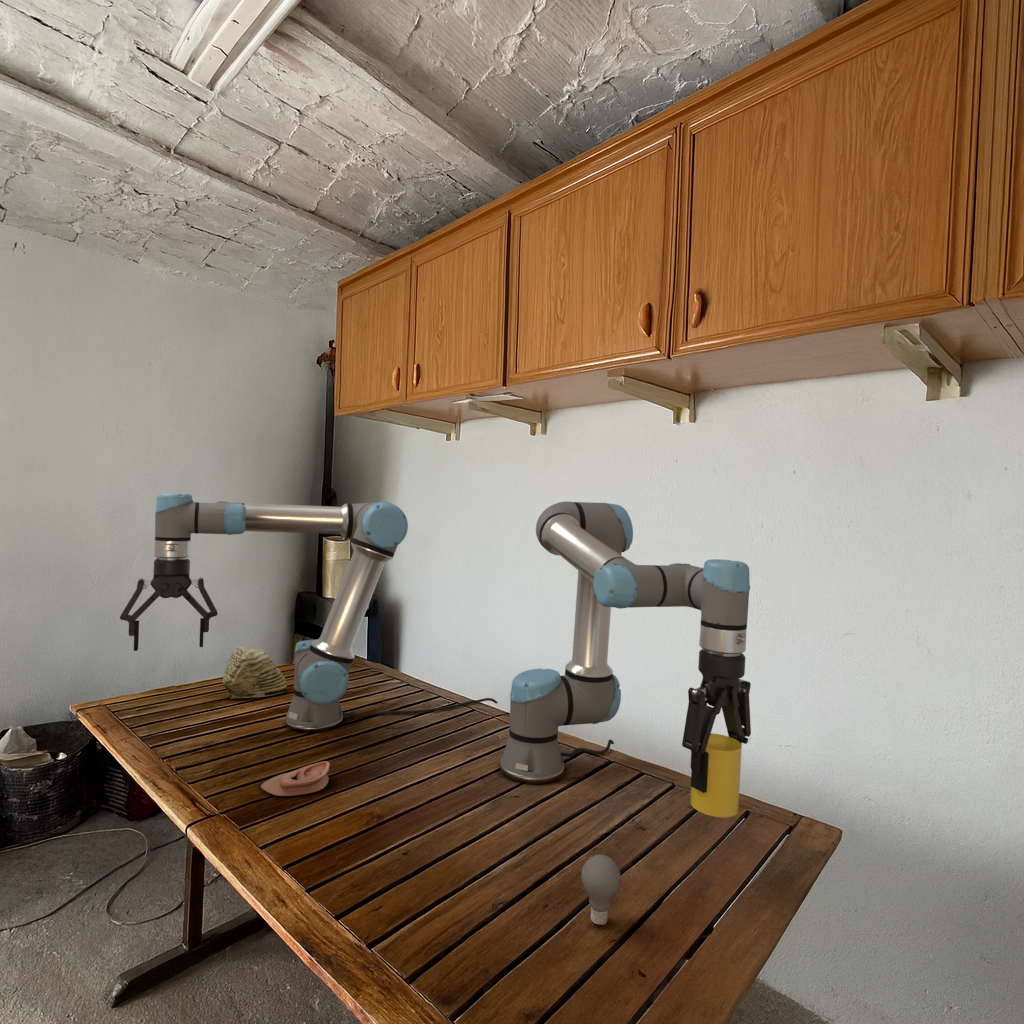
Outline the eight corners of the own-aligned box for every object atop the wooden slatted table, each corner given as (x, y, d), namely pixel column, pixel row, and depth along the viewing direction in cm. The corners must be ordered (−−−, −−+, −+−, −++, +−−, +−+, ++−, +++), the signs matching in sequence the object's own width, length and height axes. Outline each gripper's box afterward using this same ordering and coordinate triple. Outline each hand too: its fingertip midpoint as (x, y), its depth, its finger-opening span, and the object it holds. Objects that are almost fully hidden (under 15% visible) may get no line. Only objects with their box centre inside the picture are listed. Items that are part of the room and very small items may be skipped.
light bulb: (576, 909, 100) (578, 846, 100) (613, 909, 101) (616, 846, 100) (583, 935, 94) (586, 869, 94) (622, 935, 95) (626, 868, 94)
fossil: (218, 695, 195) (220, 647, 195) (278, 685, 208) (279, 640, 207) (228, 703, 189) (230, 653, 188) (289, 692, 201) (290, 645, 201)
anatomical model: (253, 773, 134) (283, 753, 145) (252, 792, 134) (282, 770, 145) (310, 782, 131) (336, 760, 142) (309, 801, 131) (335, 777, 143)
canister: (684, 808, 107) (687, 743, 107) (697, 791, 114) (701, 729, 113) (731, 822, 103) (735, 755, 103) (743, 804, 110) (746, 740, 109)
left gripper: (108, 560, 141) (105, 655, 141) (230, 559, 152) (227, 647, 152) (111, 556, 147) (109, 647, 148) (229, 556, 159) (226, 640, 159)
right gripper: (699, 663, 99) (692, 807, 99) (778, 650, 110) (770, 779, 111) (663, 652, 105) (656, 788, 106) (741, 640, 117) (734, 763, 117)
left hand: (169, 647), depth 150 cm, fingers open, 13 cm apart
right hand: (715, 783), depth 108 cm, fingers closed on canister, 8 cm apart
